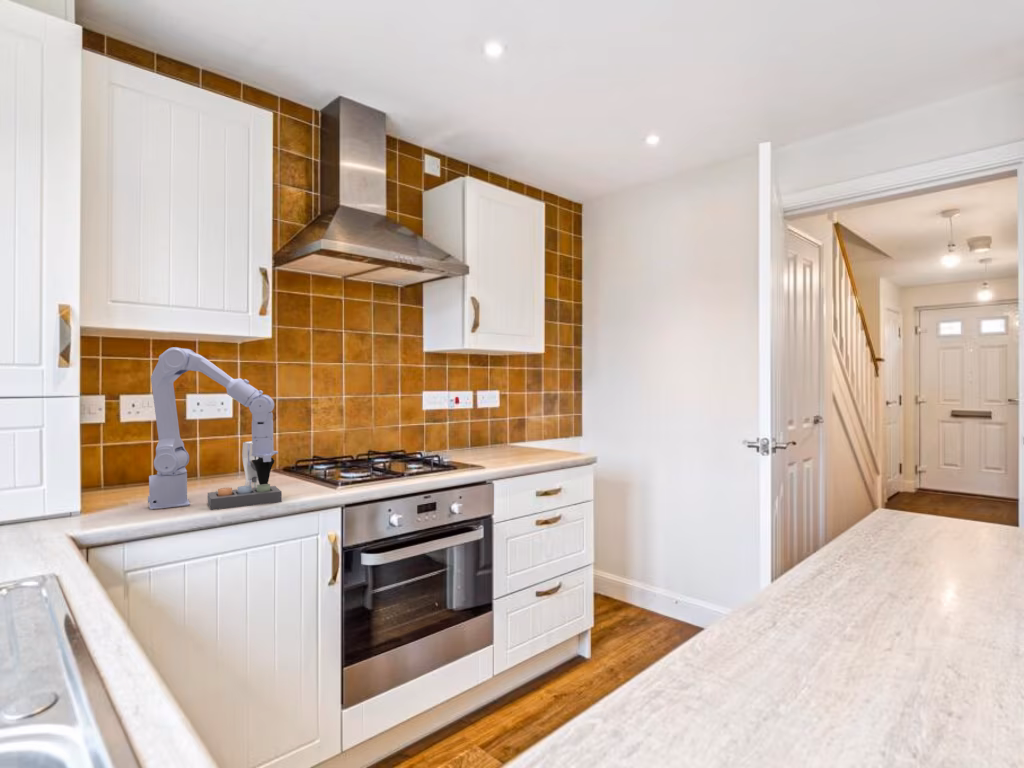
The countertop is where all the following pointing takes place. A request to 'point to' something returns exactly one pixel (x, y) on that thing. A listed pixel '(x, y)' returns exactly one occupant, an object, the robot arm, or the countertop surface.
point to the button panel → (244, 498)
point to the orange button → (224, 491)
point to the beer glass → (249, 465)
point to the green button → (263, 487)
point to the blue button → (244, 489)
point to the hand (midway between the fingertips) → (263, 483)
